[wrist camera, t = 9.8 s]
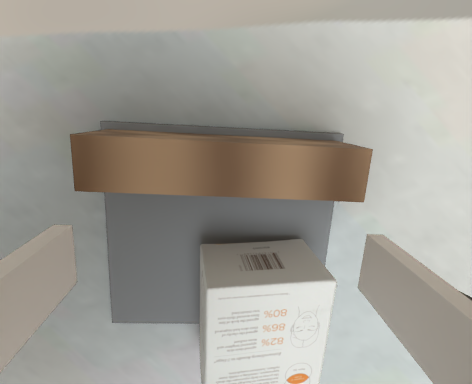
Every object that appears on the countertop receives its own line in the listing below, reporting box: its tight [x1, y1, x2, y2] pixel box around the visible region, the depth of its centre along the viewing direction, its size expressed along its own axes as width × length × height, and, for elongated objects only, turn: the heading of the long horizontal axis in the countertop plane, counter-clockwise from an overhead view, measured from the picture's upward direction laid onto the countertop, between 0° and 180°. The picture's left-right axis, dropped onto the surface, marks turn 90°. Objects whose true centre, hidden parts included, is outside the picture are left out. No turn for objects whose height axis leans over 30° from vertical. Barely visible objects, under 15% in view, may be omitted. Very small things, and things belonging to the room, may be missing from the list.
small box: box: [200, 239, 337, 384], centre depth 21 cm, size 8×6×10 cm
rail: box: [70, 129, 373, 202], centre depth 19 cm, size 16×3×6 cm, turn 87°
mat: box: [100, 121, 344, 324], centre depth 23 cm, size 17×16×1 cm
